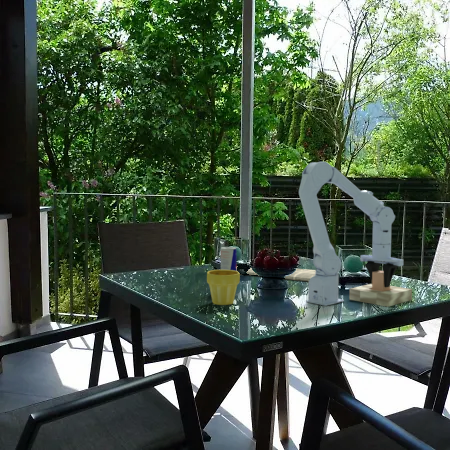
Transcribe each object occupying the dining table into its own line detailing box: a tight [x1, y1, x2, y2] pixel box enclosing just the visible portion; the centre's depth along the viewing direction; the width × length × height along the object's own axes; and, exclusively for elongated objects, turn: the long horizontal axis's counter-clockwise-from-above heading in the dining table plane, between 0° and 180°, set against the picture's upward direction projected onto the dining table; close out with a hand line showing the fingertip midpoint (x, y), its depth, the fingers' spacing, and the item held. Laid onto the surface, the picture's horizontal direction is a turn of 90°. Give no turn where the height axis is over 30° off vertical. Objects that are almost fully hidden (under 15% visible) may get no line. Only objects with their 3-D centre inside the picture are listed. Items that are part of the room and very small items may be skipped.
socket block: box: [348, 283, 413, 308], centre depth 179 cm, size 14×14×4 cm
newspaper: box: [246, 268, 316, 283], centre depth 228 cm, size 37×19×3 cm, turn 56°
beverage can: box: [220, 246, 238, 271], centre depth 196 cm, size 6×6×15 cm
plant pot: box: [206, 269, 241, 306], centre depth 175 cm, size 10×10×10 cm
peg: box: [371, 270, 390, 292], centre depth 179 cm, size 4×4×7 cm
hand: (380, 285), depth 179 cm, fingers closed on peg, 4 cm apart
